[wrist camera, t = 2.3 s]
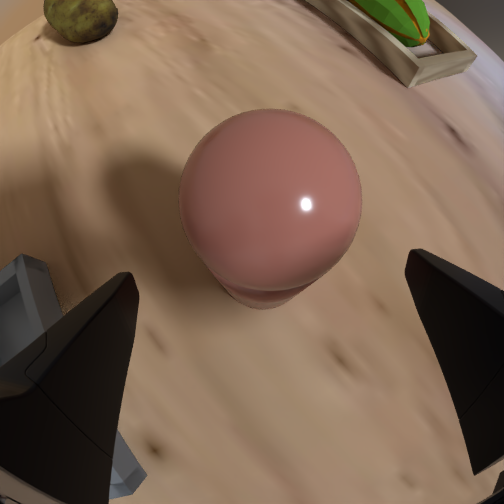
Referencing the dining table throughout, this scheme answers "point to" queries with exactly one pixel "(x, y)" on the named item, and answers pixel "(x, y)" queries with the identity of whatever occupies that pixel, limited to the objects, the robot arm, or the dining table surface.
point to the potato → (81, 18)
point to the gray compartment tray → (31, 327)
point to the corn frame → (401, 45)
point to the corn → (399, 18)
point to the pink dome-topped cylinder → (269, 204)
